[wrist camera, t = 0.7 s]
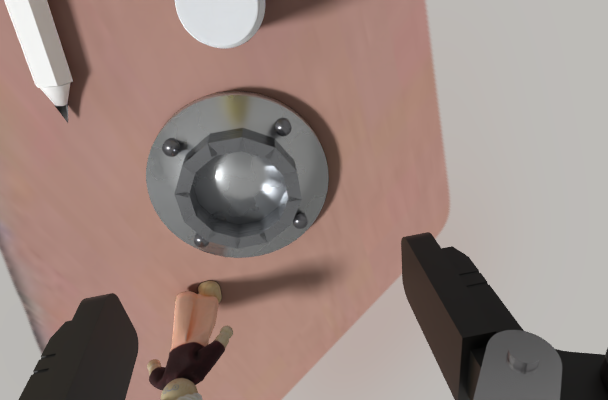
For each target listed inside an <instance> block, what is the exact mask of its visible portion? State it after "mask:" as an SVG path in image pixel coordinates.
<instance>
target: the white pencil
mask: <svg viewBox="0 0 608 400" xmlns="http://www.w3.org/2000/svg"><path fill="white" fill-rule="evenodd" d="M4 1H5V4H6V6H7V9H8V12H9V14H10V17H11V20H12V23H13V25H14V28H15V31H16V34H17V36H18V39H19V42H20V44H21V47H22V50H23V53H24V55H25V58H26V61H27V63H28V66H29V69H30V72H31V74H32V77H33V80H34V83H35V85H36V86H37V87H38V88H40V89H41V90H42V91H43V92H44V93H45V94H46V95H47V97H48V98H49V99H50V100H51V101H52V102H53V103H54V105H55V106H56V108H57V109H58V110H59V112H60V113H61V114H62V116H63V117H64V118H65V120H66V121H67V122H68V96H69V89H70V82H73V79H72V76H71V73H70V70H69V67H68V64H67V61H66V58H65V55H64V51H63V48H62V45H61V42H60V39H59V36H58V33H57V30H56V27H55V23H54V20H53V17H52V14H51V11H50V8H49V5H48V2H47V0H4Z"/></svg>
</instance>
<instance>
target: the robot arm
mask: <svg viewBox="0 0 608 400" xmlns="http://www.w3.org/2000/svg"><path fill="white" fill-rule="evenodd" d="M401 249H402V277H403V285H404V290H405V294H406V296H407V299H408V302H409V304H410V306H411V308H412V310H413V312H414V314H415V316H416V319H417V321H418V323H419V325H420V327H421V329H422V331H423V333H424V335H425V338H426V340H427V342H428V344H429V346H430V348H431V350H432V352H433V354H434V357H435V359H436V361H437V363H438V365H439V367H440V369H441V371H442V373H443V376H444V378H445V380H446V382H447V384H448V386H449V388H450V390H451V392H452V395H453V397H454V399H455V400H608V349H607V352H606V355H601V354H589V353H576V352H567V351H561V350H557V349H554V348H553V347H552V346H551V345H550V344H549V343H548V342H547V341H545V340H544V339H542V338H541V337H539V336H537V335H534V334H532V333H529V332H526V331H524V330H523V329H522V328H521V327H520V325H519V324H518V323H517V321H516V320H515V319H514V317H513V316H512V315H511V313H510V312H509V311H508V309H507V308H506V307H505V305H504V304H503V303H502V301H501V300H500V299H499V297H498V296H497V294H496V293H495V292H494V290H493V289H492V288H491V287H490V285H488V284H487V281H486V280H485V278H484V277H483V276H482V274H481V273H479V271H478V269H477V268H476V266H475V265H474V264H473V262H472V261H471V260H470V258H469V257H468V256H466V255H465V254H463V253H462V252H460V251H458V250H457V249H455V248H454V247H447V248H442V249H441V248H440V246H439V245H438V243H437V242H436V240H435V239H434V237H433V236H432V234H431V233H429V232H427V233H422V234H417V235H412V236H407V237H403V238H402V241H401ZM137 353H138V337H137V333H136V331H135V328H134V327H133V325H132V323H131V321H130V319H129V317H128V315H127V313H126V311H125V309H124V308H123V306H122V304H121V302H120V300H119V298H118V297H117V295H115V294H113V293H111V294H106V295H101V296H96V297H91V298H86V299H84V300H82V301H81V303H80V305H79V307H78V309H77V311H76V313H75V315H74V317H73V319H72V321H67V322H65V323H64V324H63V325H62V326H61V327H60V329H59V330H58V331H57V332H56V333H55V334H54V335H53V336H52V337H51V338H50V340H49V342H48V344H47V346H46V348H45V350H44V351H43V353H42V355H41V360H39V361H38V363H37V365H36V367H35V369H34V374H33V375H31V377H30V379H29V381H28V383H27V385H26V387H25V388H24V391H23V392H22V394H21V396H20V398H19V400H125V398H126V394H127V390H128V387H129V383H130V379H131V376H132V372H133V368H134V365H135V361H136V357H137Z"/></svg>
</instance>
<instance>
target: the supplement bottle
mask: <svg viewBox="0 0 608 400" xmlns="http://www.w3.org/2000/svg"><path fill="white" fill-rule="evenodd" d="M175 6H176V10H177V14H178V17H179V19H180V21H181V23H182V24H183V26H184V28H185V29H186V30H187V31H188V32H189V33H190V34H191V35H192V36H193V37H194V38H195V39H197V40H198V41H200V42H201V43H204V44H206V45H209V46H212V47H215V48H233V47H237V46H239V45H242V44H244V43H245V42H247V41H248V40H250V39H251V38H252V37H253V36H254V35H255V33H256V32H257V31H258V29H259V27H260V26H261V23H262V21H263V18H264V14H265V0H175Z"/></svg>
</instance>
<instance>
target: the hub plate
mask: <svg viewBox="0 0 608 400" xmlns="http://www.w3.org/2000/svg"><path fill="white" fill-rule="evenodd" d="M328 180H329V177H328V166H327V161H326V157H325V154H324V151H323V149H322V146H321V144H320V142H319V140H318V138H317V136H316V134H315V132H314V131H313V130H312V128H311V127H310V125H309V124H308V123H307V122H306V121H305V120H304V119H303V118H302V117H301V116H300V115H299V114H298V113H297V112H295V111H294V110H293V109H292V108H290V107H289V106H287V105H285V104H284V103H282V102H280V101H278V100H276V99H273V98H271V97H268V96H265V95H261V94H258V93H252V92H245V91H228V92H219V93H215V94H211V95H207V96H204V97H202V98H199V99H197V100H194V101H193V102H191V103H189V104H187V105H186V106H184V107H183V108H181V109H180V110H179V111H178V112H176V113H175V114H174V115H173V116H172V117H171V118H170V119H169V120H168V121H167V122H166V124H165V125H164V126H163V128H162V129H161V131H160V132H159V134H158V136H157V138H156V140H155V142H154V144H153V146H152V148H151V151H150V154H149V157H148V162H147V168H146V182H147V188H148V193H149V196H150V200H151V202H152V205H153V207H154V209H155V211H156V213H157V214H158V216H159V217H160V219H161V220H162V222H163V223H164V224H165V225H166V226H167V227H168V229H169V230H171V231H172V232H173V233H174V234H175V235H176V236H177V237H179V238H180V239H181V240H183V241H184V242H186V243H187V244H189V245H191V246H193V247H195V248H197V249H199V250H202V251H204V252H207V253H211V254H214V255H219V256H224V257H235V258H242V257H254V256H260V255H264V254H268V253H271V252H273V251H276V250H279V249H281V248H283V247H285V246H287V245H289V244H290V243H292V242H293V241H295V240H296V239H297V238H299V237H300V236H301V235H302V234H303V233H305V231H306V230H307V229H308V228H309V227H310V226H311V225H312V224H313V222H314V221H315V219H316V218H317V217H318V215H319V213H320V211H321V209H322V207H323V204H324V202H325V199H326V195H327V190H328Z"/></svg>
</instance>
